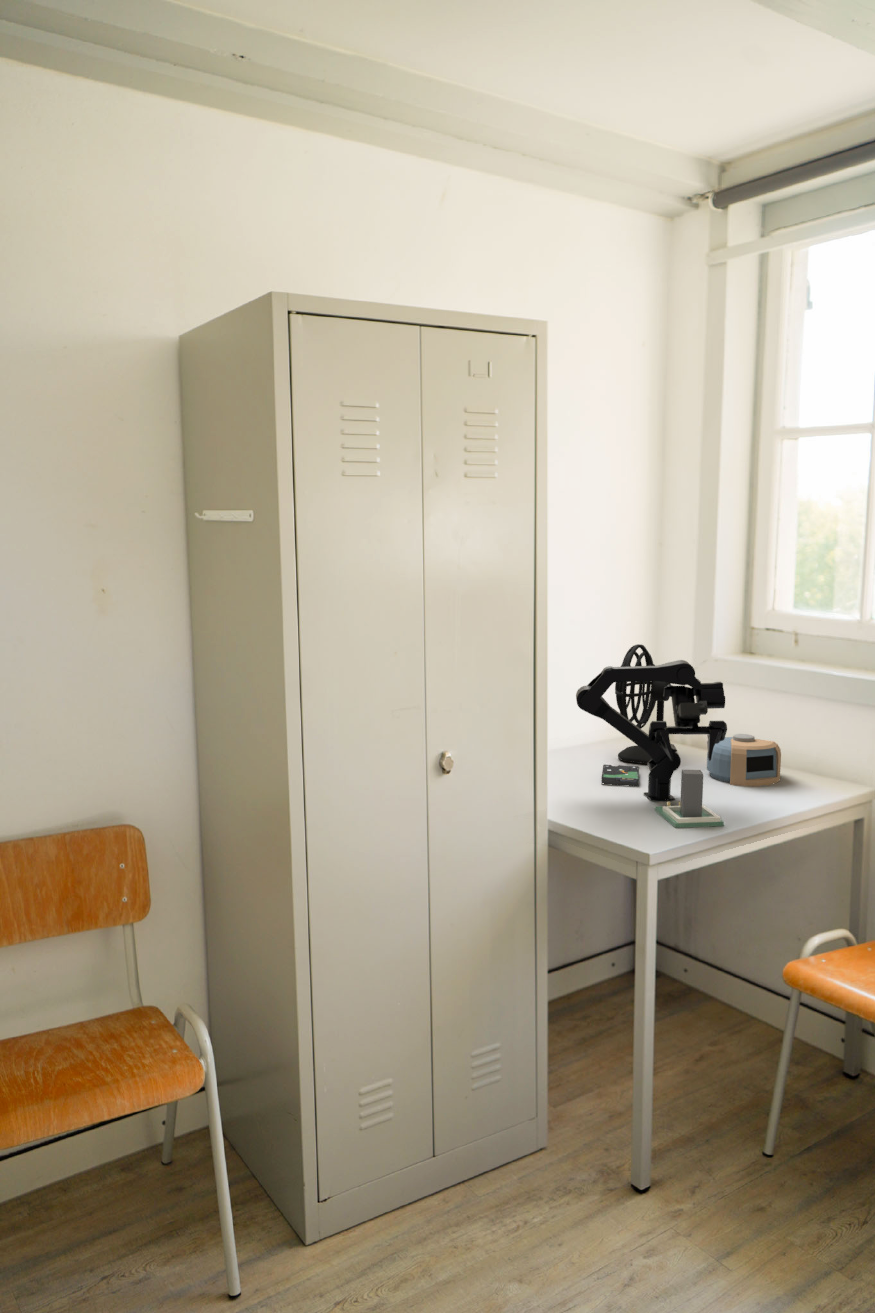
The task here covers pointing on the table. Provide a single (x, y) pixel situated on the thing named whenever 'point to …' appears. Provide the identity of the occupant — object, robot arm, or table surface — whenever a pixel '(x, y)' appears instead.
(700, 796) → the block
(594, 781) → the table surface
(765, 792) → the table surface
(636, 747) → the desk fan
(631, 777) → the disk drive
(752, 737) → the alarm clock
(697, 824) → the green flat piece
